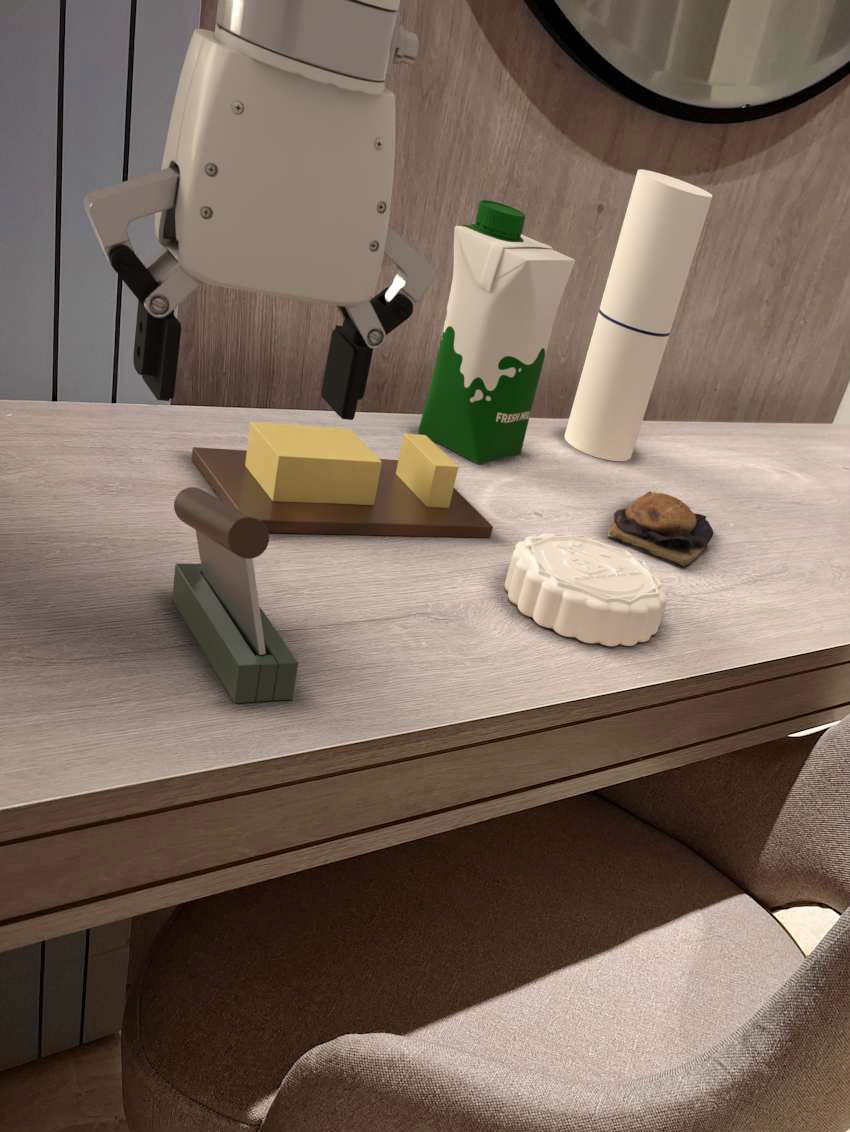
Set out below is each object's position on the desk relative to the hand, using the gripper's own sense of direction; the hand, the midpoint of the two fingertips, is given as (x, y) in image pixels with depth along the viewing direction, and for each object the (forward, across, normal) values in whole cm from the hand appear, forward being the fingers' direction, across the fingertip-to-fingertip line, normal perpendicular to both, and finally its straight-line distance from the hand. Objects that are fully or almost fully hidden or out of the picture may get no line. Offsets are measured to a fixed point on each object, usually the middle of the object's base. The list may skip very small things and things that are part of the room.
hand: (250, 400), depth 62 cm
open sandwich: (+14, -45, -15) cm, 49 cm away
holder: (+15, -1, +1) cm, 15 cm away
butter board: (+15, -17, -20) cm, 30 cm away
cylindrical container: (+15, -51, -35) cm, 64 cm away
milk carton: (+15, -35, -33) cm, 50 cm away
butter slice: (+14, -23, -20) cm, 34 cm away
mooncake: (+15, -29, -3) cm, 32 cm away
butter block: (+14, -14, -20) cm, 28 cm away
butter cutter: (+14, -1, +1) cm, 14 cm away
